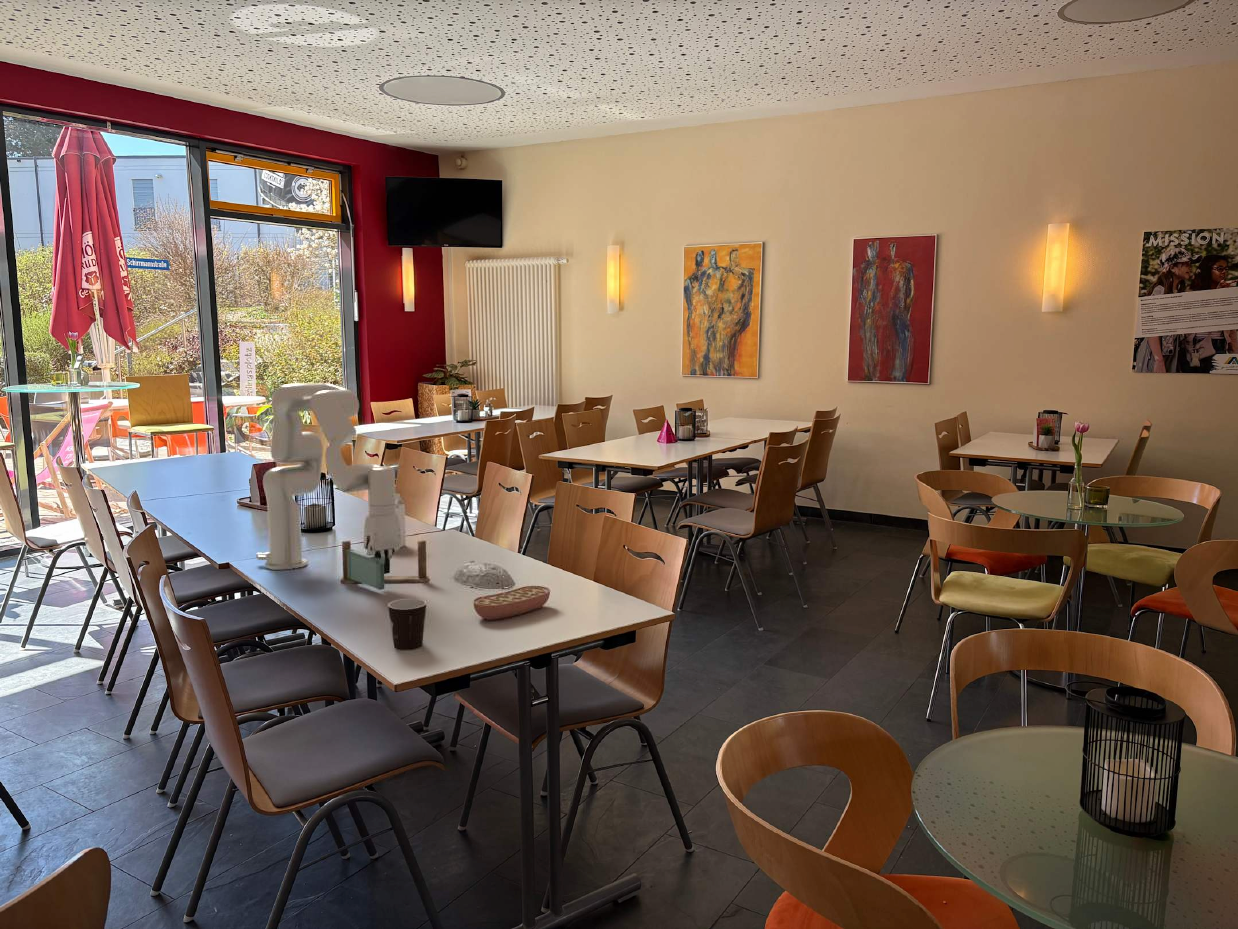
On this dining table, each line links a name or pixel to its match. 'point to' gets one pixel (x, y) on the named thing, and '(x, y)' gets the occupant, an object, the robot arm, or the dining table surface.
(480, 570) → the grey rock
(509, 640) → the dining table surface
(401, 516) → the milk carton
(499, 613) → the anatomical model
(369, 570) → the gate leaf
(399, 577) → the gate frame
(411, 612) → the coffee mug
